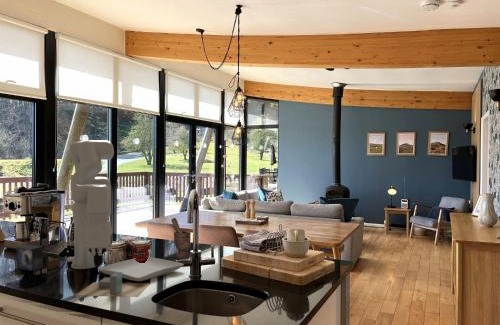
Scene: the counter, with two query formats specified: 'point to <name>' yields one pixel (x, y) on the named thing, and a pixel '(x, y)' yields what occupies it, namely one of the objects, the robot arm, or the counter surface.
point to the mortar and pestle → (181, 241)
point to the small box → (29, 257)
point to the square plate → (142, 268)
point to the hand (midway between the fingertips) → (98, 265)
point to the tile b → (115, 283)
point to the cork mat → (126, 291)
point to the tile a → (104, 283)
